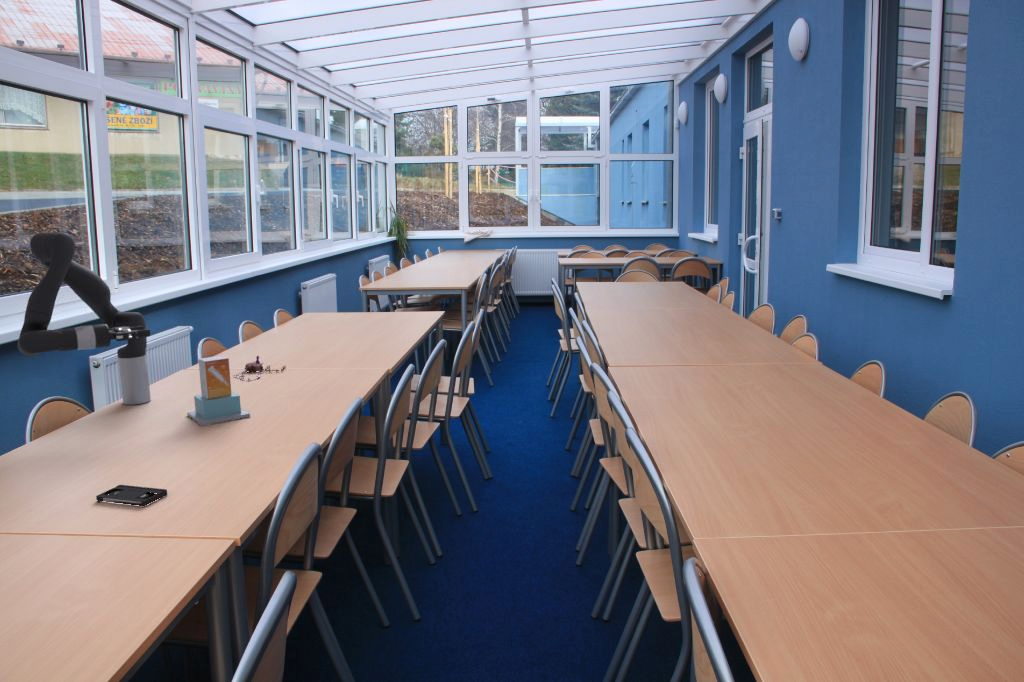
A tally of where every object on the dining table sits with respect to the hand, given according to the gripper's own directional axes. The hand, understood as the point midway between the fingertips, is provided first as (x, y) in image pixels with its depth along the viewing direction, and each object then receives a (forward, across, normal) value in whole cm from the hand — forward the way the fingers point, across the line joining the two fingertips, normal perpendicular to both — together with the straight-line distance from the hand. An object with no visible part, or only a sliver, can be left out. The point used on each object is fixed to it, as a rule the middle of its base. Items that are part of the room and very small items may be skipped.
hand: (146, 330), depth 253 cm
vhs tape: (-23, -73, +31) cm, 82 cm away
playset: (+50, +42, +31) cm, 72 cm away
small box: (+17, -12, +23) cm, 31 cm away
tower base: (+17, -12, +30) cm, 37 cm away
